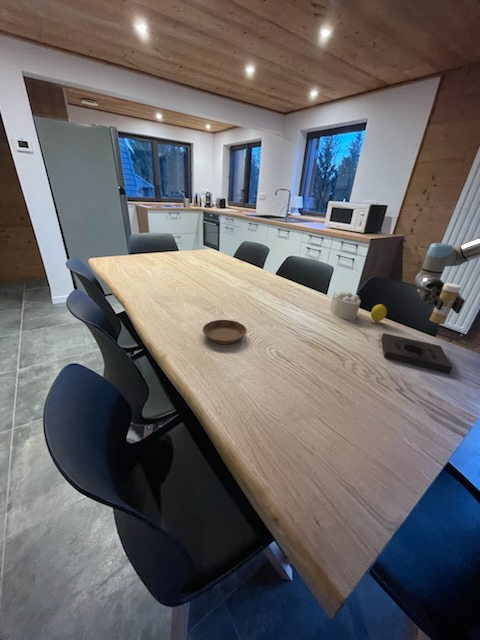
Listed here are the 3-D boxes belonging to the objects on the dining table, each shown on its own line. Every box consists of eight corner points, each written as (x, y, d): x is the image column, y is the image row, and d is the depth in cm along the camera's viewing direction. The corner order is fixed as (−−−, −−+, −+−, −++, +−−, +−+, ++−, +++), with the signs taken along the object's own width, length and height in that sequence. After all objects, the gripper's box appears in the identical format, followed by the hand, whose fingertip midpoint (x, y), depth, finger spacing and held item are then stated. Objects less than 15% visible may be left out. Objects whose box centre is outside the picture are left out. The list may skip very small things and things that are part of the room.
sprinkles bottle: (426, 319, 93) (441, 282, 87) (435, 318, 94) (451, 282, 88) (438, 325, 89) (455, 287, 83) (448, 324, 90) (465, 286, 84)
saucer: (199, 345, 83) (199, 338, 82) (206, 324, 97) (206, 318, 96) (245, 349, 84) (246, 341, 82) (246, 327, 97) (246, 321, 96)
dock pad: (437, 351, 91) (440, 345, 90) (449, 374, 79) (452, 367, 78) (381, 338, 97) (383, 332, 96) (384, 358, 85) (386, 351, 84)
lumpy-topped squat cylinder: (349, 308, 123) (354, 290, 119) (361, 320, 111) (367, 301, 107) (327, 306, 122) (331, 289, 118) (337, 318, 110) (342, 299, 107)
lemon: (383, 321, 112) (389, 303, 108) (382, 325, 107) (388, 307, 104) (369, 317, 114) (375, 300, 111) (367, 322, 110) (373, 304, 106)
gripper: (454, 301, 102) (477, 324, 83) (404, 292, 108) (414, 312, 88) (463, 282, 99) (488, 302, 80) (411, 274, 105) (423, 291, 85)
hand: (449, 307), depth 84 cm, fingers closed on sprinkles bottle, 4 cm apart
